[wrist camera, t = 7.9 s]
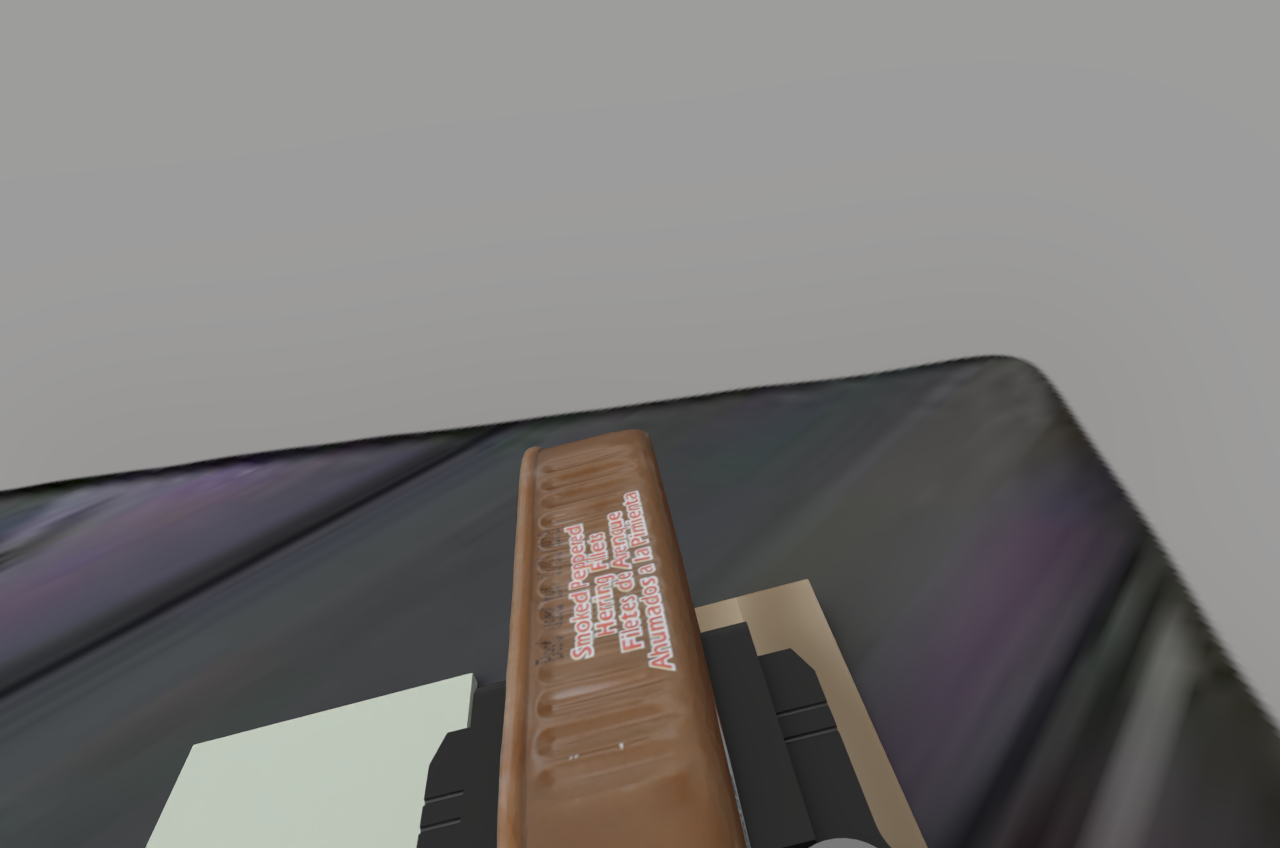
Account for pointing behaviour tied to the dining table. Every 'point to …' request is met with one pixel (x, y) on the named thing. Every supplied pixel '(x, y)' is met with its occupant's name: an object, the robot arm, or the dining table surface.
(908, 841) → the slot holder
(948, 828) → the dining table surface
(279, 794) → the mat
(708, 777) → the tin
